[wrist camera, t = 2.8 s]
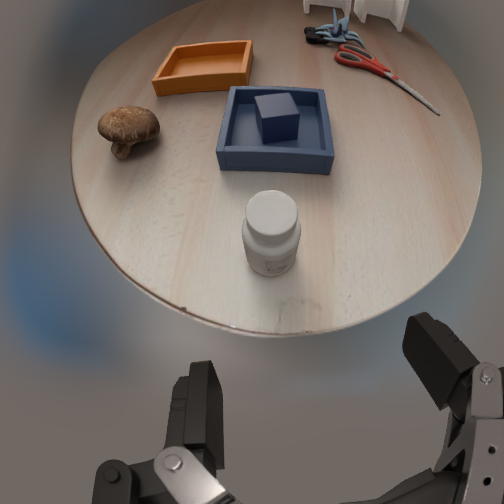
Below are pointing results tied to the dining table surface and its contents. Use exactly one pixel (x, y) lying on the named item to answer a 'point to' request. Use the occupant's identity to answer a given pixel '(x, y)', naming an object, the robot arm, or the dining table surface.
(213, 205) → the dining table surface
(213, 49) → the amber tray
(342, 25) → the figurine
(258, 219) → the pill bottle
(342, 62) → the scissors
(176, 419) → the robot arm
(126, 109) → the mushroom
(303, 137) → the blue tray
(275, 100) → the blue block
